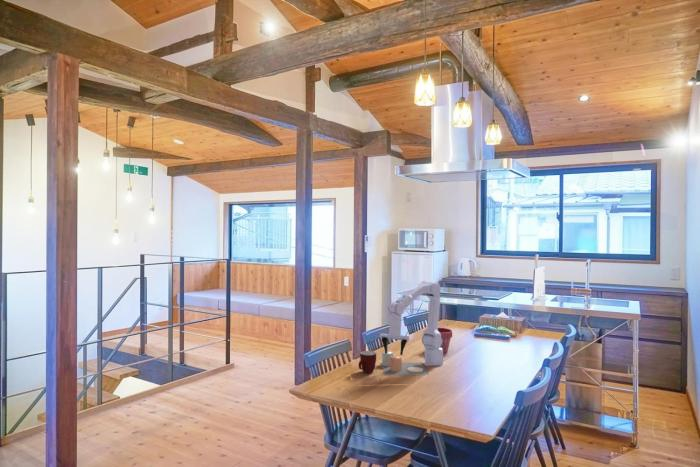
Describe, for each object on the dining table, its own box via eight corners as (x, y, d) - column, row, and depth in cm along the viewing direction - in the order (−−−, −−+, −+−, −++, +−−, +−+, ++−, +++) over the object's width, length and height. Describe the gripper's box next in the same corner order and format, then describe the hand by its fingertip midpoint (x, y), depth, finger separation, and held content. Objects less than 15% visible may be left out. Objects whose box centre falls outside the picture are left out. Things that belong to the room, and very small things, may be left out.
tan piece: (400, 368, 232) (400, 355, 232) (402, 371, 226) (402, 358, 226) (389, 368, 231) (389, 355, 231) (391, 371, 226) (391, 358, 226)
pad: (421, 367, 233) (421, 366, 233) (424, 372, 225) (424, 371, 225) (406, 367, 233) (406, 366, 233) (408, 372, 225) (408, 371, 225)
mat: (420, 363, 242) (420, 362, 242) (429, 375, 222) (429, 374, 222) (379, 364, 241) (379, 362, 241) (384, 376, 221) (384, 375, 221)
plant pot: (450, 348, 273) (450, 327, 273) (453, 355, 259) (453, 332, 259) (426, 347, 274) (426, 326, 274) (428, 354, 260) (428, 332, 260)
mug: (367, 377, 218) (367, 357, 218) (353, 374, 223) (354, 354, 223) (379, 372, 226) (379, 352, 226) (366, 369, 231) (366, 350, 231)
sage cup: (391, 363, 240) (391, 351, 240) (393, 366, 235) (393, 353, 235) (381, 363, 240) (381, 351, 240) (382, 366, 234) (382, 354, 234)
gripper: (379, 326, 223) (377, 353, 223) (408, 329, 219) (406, 357, 219) (382, 324, 230) (380, 350, 230) (410, 327, 226) (409, 354, 226)
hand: (393, 353), depth 225 cm, fingers open, 7 cm apart
